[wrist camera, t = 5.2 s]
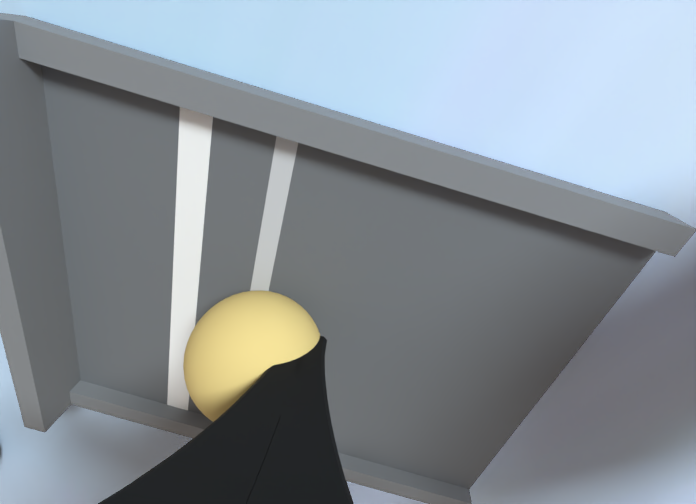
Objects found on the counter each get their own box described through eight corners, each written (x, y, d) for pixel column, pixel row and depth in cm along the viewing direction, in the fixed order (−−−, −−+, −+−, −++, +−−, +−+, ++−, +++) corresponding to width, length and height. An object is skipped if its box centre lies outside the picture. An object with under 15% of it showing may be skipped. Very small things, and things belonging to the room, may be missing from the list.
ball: (322, 384, 8) (152, 331, 8) (289, 481, 10) (151, 438, 10) (347, 288, 12) (228, 251, 12) (319, 373, 14) (216, 341, 14)
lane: (665, 212, 10) (740, 254, 8) (459, 484, 17) (469, 549, 15) (25, 16, 10) (-85, 2, 7) (74, 376, 16) (24, 426, 14)
